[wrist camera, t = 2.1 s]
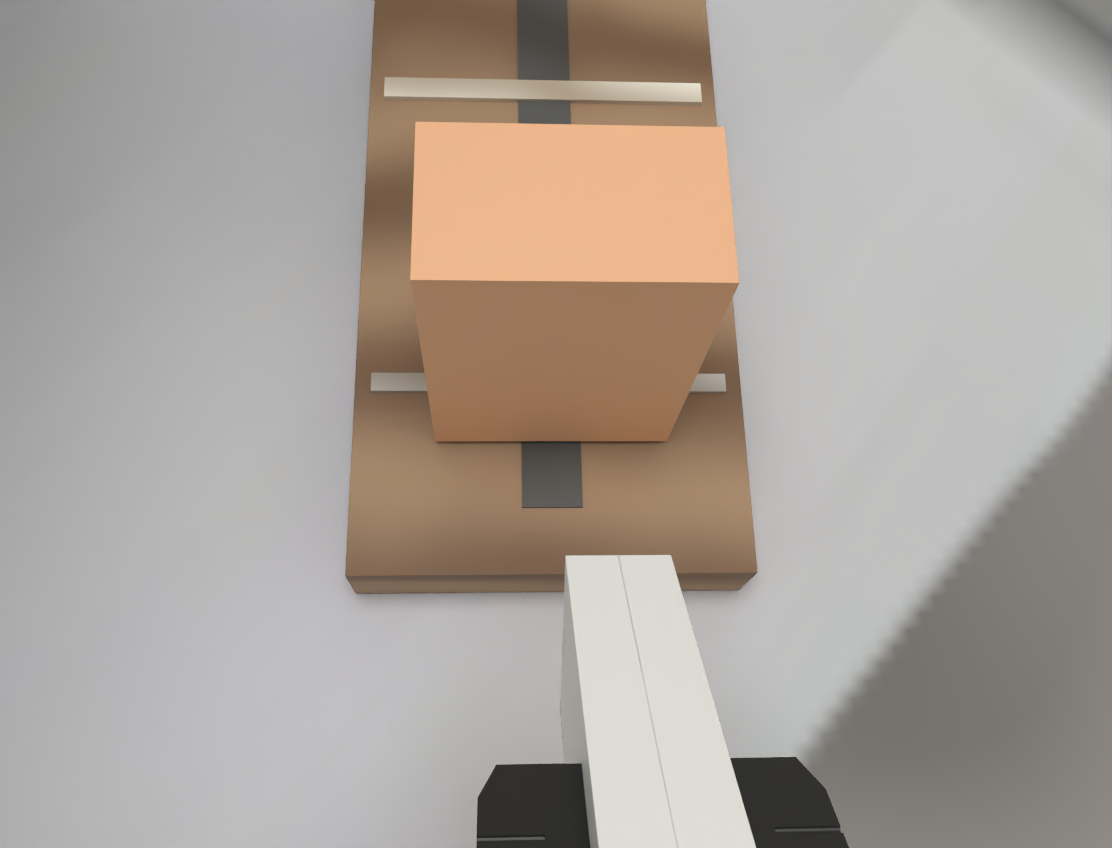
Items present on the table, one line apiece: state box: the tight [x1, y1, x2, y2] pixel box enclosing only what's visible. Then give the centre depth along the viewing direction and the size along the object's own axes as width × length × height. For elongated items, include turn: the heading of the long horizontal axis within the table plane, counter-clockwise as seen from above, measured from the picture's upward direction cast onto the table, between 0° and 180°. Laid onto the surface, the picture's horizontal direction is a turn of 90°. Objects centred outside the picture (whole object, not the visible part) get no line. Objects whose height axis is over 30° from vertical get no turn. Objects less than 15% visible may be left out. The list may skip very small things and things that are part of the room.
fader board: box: [345, 0, 757, 594], centre depth 36 cm, size 24×12×3 cm, turn 1°
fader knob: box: [410, 122, 739, 441], centre depth 28 cm, size 4×7×10 cm, turn 91°
